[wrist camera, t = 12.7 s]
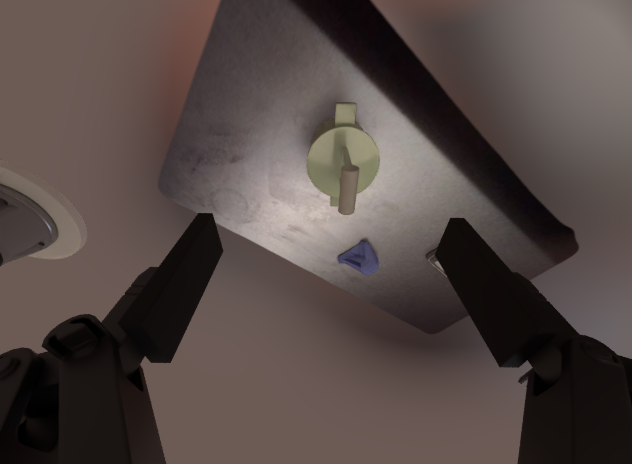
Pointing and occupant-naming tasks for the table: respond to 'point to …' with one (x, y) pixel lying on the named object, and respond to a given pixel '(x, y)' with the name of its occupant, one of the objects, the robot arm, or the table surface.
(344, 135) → the lid
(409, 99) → the table surface
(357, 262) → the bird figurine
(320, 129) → the pot
